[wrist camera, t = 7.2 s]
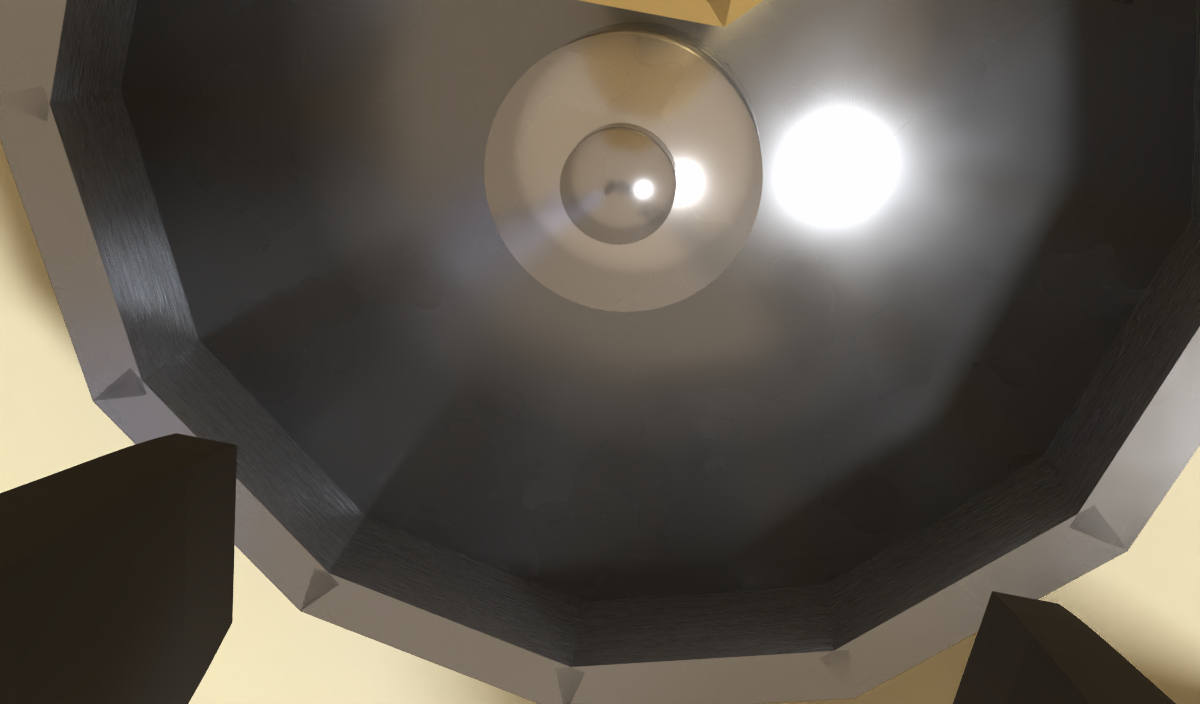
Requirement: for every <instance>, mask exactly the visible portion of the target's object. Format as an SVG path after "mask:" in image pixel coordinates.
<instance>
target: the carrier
mask: <svg viewBox="0 0 1200 704" xmlns="http://www.w3.org/2000/svg"><path fill="white" fill-rule="evenodd" d="M0 140H1V143H2V146H3V149H4V151H5V154H6V157H7V160H8V163H9V165H10V168H11V171H12V174H13V177H14V180H15V182H16V185H17V188H18V191H19V194H20V196H21V199H22V202H23V205H24V208H25V211H26V213H27V216H28V219H29V222H30V225H31V227H32V230H33V233H34V236H35V239H36V242H37V244H38V247H39V250H40V253H41V256H42V259H43V261H44V264H45V267H46V270H47V273H48V275H49V278H50V281H51V284H52V287H53V290H54V292H55V295H56V298H57V301H58V304H59V306H60V309H61V312H62V315H63V318H64V321H65V323H66V326H67V329H68V332H69V335H70V337H71V340H72V343H73V346H74V349H75V352H76V354H77V357H78V360H79V363H80V366H81V369H82V371H83V374H84V377H85V380H86V383H87V385H88V388H89V391H90V394H91V397H92V400H93V402H94V403H95V404H96V405H97V406H98V407H99V408H100V409H101V410H102V411H103V412H104V413H105V414H106V415H107V416H108V417H109V418H110V419H111V420H112V421H113V422H114V423H115V424H116V425H117V426H118V427H119V428H120V429H121V430H122V431H123V432H124V433H125V434H126V435H127V436H128V437H129V438H130V439H131V440H132V441H133V442H134V443H135V444H139V443H142V442H145V441H148V440H152V439H155V438H159V437H163V436H167V435H171V434H175V433H178V434H183V435H189V436H194V437H199V438H204V439H209V440H214V441H220V442H225V443H230V444H235V445H237V468H236V504H235V540H234V544H235V545H236V546H237V547H238V548H239V550H240V551H241V552H242V553H243V554H244V555H245V556H246V557H247V558H248V559H249V560H250V561H251V562H252V563H253V564H254V565H255V566H256V567H257V568H258V569H259V570H260V571H261V572H262V573H263V574H264V575H265V576H266V577H267V578H268V579H269V580H270V581H271V582H272V583H273V584H274V585H275V586H276V587H277V588H278V589H279V590H280V591H281V592H282V593H283V594H284V595H285V596H286V597H287V598H288V599H289V600H290V601H291V602H292V603H293V604H294V605H295V606H296V607H297V608H298V609H299V610H300V611H301V612H304V613H307V614H309V615H312V616H314V617H317V618H319V619H322V620H325V621H327V622H330V623H332V624H335V625H337V626H340V627H343V628H345V629H348V630H350V631H353V632H356V633H358V634H361V635H363V636H366V637H368V638H371V639H374V640H376V641H379V642H381V643H384V644H386V645H389V646H392V647H394V648H397V649H399V650H402V651H405V652H407V653H410V654H412V655H415V656H417V657H420V658H423V659H425V660H428V661H430V662H433V663H435V664H438V665H441V666H443V667H446V668H448V669H451V670H454V671H456V672H459V673H461V674H464V675H466V676H469V677H472V678H474V679H477V680H479V681H482V682H484V683H487V684H490V685H492V686H495V687H497V688H500V689H503V690H505V691H508V692H510V693H513V694H515V695H518V696H521V697H523V698H526V699H528V700H531V701H533V702H536V703H539V704H760V703H778V702H797V701H816V700H834V699H853V698H856V697H858V696H860V695H862V694H863V693H865V692H867V691H869V690H871V689H873V688H875V687H876V686H878V685H880V684H882V683H884V682H886V681H888V680H889V679H891V678H893V677H895V676H897V675H899V674H900V673H902V672H904V671H906V670H908V669H910V668H912V667H913V666H915V665H917V664H919V663H921V662H923V661H925V660H926V659H928V658H930V657H932V656H934V655H936V654H938V653H939V652H941V651H943V650H945V649H947V648H949V647H950V646H952V645H954V644H956V643H958V642H960V641H962V640H963V639H965V638H967V637H969V636H971V635H973V634H975V633H976V632H978V630H979V627H980V625H981V622H982V619H983V616H984V613H985V610H986V607H987V604H988V601H989V599H990V596H991V593H992V591H995V592H1000V593H1005V594H1010V595H1015V596H1020V597H1026V598H1031V599H1036V600H1037V599H1039V598H1041V597H1043V596H1045V595H1047V594H1049V593H1050V592H1052V591H1054V590H1056V589H1058V588H1060V587H1062V586H1063V585H1065V584H1067V583H1069V582H1071V581H1073V580H1075V579H1076V578H1078V577H1080V576H1082V575H1084V574H1086V573H1087V572H1089V571H1091V570H1093V569H1095V568H1097V567H1099V566H1100V565H1102V564H1104V563H1106V562H1108V561H1110V560H1112V559H1113V558H1115V557H1117V556H1119V555H1121V554H1123V553H1125V552H1126V551H1128V549H1129V548H1130V546H1131V545H1132V543H1133V542H1134V541H1135V539H1136V538H1137V536H1138V535H1139V533H1140V532H1141V530H1142V529H1143V527H1144V526H1145V524H1146V523H1147V522H1148V520H1149V519H1150V517H1151V516H1152V514H1153V513H1154V511H1155V510H1156V508H1157V507H1158V505H1159V504H1160V503H1161V501H1162V500H1163V498H1164V497H1165V495H1166V494H1167V492H1168V491H1169V489H1170V488H1171V486H1172V485H1173V484H1174V482H1175V481H1176V479H1177V478H1178V476H1179V475H1180V473H1181V472H1182V470H1183V469H1184V467H1185V466H1186V465H1187V463H1188V462H1189V460H1190V459H1191V457H1192V456H1193V454H1194V453H1195V451H1196V450H1197V448H1198V447H1199V446H1200V0H763V1H761V2H760V3H759V4H757V5H756V6H754V7H753V8H751V9H750V10H749V11H747V12H746V13H744V14H743V15H742V16H740V17H739V18H737V19H736V20H734V21H733V22H732V23H730V24H729V25H727V26H726V27H725V28H724V27H719V26H713V25H708V24H702V23H697V22H692V21H686V20H681V19H676V18H670V17H665V16H660V15H654V14H649V13H644V12H638V11H633V10H628V9H622V8H617V7H612V6H606V5H601V4H595V3H590V2H585V1H579V0H0Z"/></svg>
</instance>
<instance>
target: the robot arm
mask: <svg viewBox="0 0 1200 704" xmlns="http://www.w3.org/2000/svg"><path fill="white" fill-rule="evenodd" d="M236 468H237V445H235V444H230V443H225V442H220V441H214V440H209V439H204V438H199V437H194V436H189V435H183V434H178V433H175V434H171V435H167V436H163V437H159V438H155V439H152V440H148V441H145V442H142V443H139V444H136V445H133V446H130V447H127V448H124V449H121V450H118V451H115V452H113V453H110V454H107V455H104V456H101V457H99V458H96V459H93V460H90V461H88V462H85V463H82V464H80V465H77V466H74V467H71V468H69V469H66V470H63V471H61V472H58V473H55V474H52V475H50V476H47V477H44V478H41V479H39V480H36V481H33V482H30V483H28V484H25V485H22V486H19V487H17V488H14V489H11V490H9V491H6V492H3V493H0V704H188V703H189V701H190V700H191V698H192V696H193V694H194V692H195V691H196V689H197V687H198V685H199V684H200V682H201V680H202V678H203V676H204V675H205V673H206V671H207V669H208V667H209V665H210V664H211V662H212V660H213V658H214V656H215V654H216V652H217V650H218V648H219V646H220V645H221V643H222V641H223V639H224V637H225V635H226V633H227V631H228V629H229V627H230V625H231V624H232V611H233V575H234V540H235V504H236ZM953 704H1175V703H1174V702H1173V701H1172V700H1171V699H1170V698H1168V697H1167V696H1166V695H1165V694H1164V693H1163V692H1162V691H1161V690H1160V689H1158V688H1157V687H1156V686H1155V685H1154V684H1153V683H1152V682H1151V681H1150V680H1148V679H1147V678H1146V677H1145V676H1144V675H1143V674H1142V673H1141V672H1140V671H1138V670H1137V669H1136V668H1135V667H1134V666H1133V665H1132V664H1131V663H1130V662H1128V661H1127V660H1126V659H1125V658H1124V657H1123V656H1122V655H1121V654H1119V653H1118V652H1117V651H1116V650H1115V649H1114V648H1113V647H1111V646H1110V645H1109V644H1108V643H1107V642H1106V641H1105V640H1103V639H1102V638H1101V637H1100V636H1099V635H1098V634H1096V633H1095V632H1094V631H1093V630H1092V629H1091V628H1089V627H1088V626H1087V625H1086V624H1085V623H1083V622H1082V621H1081V620H1080V619H1078V618H1077V617H1076V616H1075V615H1073V614H1072V613H1071V612H1069V611H1068V610H1066V609H1065V608H1064V607H1062V606H1061V605H1060V604H1057V603H1051V602H1046V601H1041V600H1036V599H1031V598H1026V597H1020V596H1015V595H1010V594H1005V593H1000V592H995V591H992V593H991V596H990V599H989V601H988V604H987V607H986V610H985V613H984V616H983V619H982V622H981V625H980V627H979V630H978V633H977V636H976V639H975V642H974V645H973V648H972V650H971V653H970V656H969V659H968V662H967V665H966V668H965V671H964V674H963V676H962V679H961V682H960V685H959V688H958V691H957V694H956V697H955V699H954V702H953Z"/></svg>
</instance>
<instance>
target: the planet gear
mask: <svg viewBox="0 0 1200 704" xmlns="http://www.w3.org/2000/svg"><path fill="white" fill-rule="evenodd" d="M579 1H585V2H590V3H595V4H601V5H606V6H612V7H617V8H622V9H628V10H633V11H638V12H644V13H649V14H654V15H660V16H665V17H670V18H676V19H681V20H686V21H692V22H697V23H702V24H708V25H713V26H719V27H724V28H725V27H726V26H727V25H729V24H730V23H732V22H733V21H734V20H736V19H737V18H739V17H740V16H742V15H743V14H744V13H746V12H747V11H749V10H750V9H751V8H753V7H754V6H756V5H757V4H759V3H760V2H761V1H763V0H579Z"/></svg>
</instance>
